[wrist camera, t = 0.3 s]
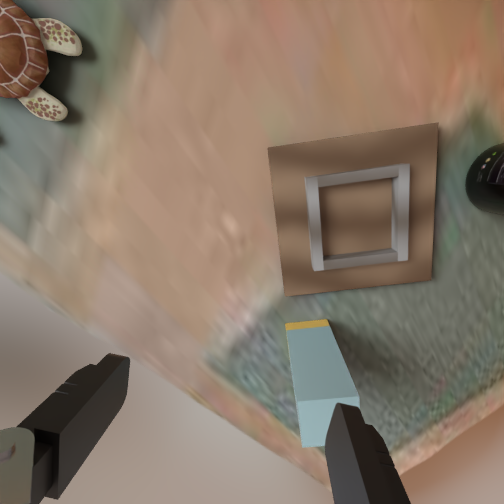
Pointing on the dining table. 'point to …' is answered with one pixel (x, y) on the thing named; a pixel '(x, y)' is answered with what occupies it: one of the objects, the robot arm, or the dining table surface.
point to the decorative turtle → (32, 58)
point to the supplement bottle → (487, 180)
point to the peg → (317, 378)
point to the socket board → (355, 209)
